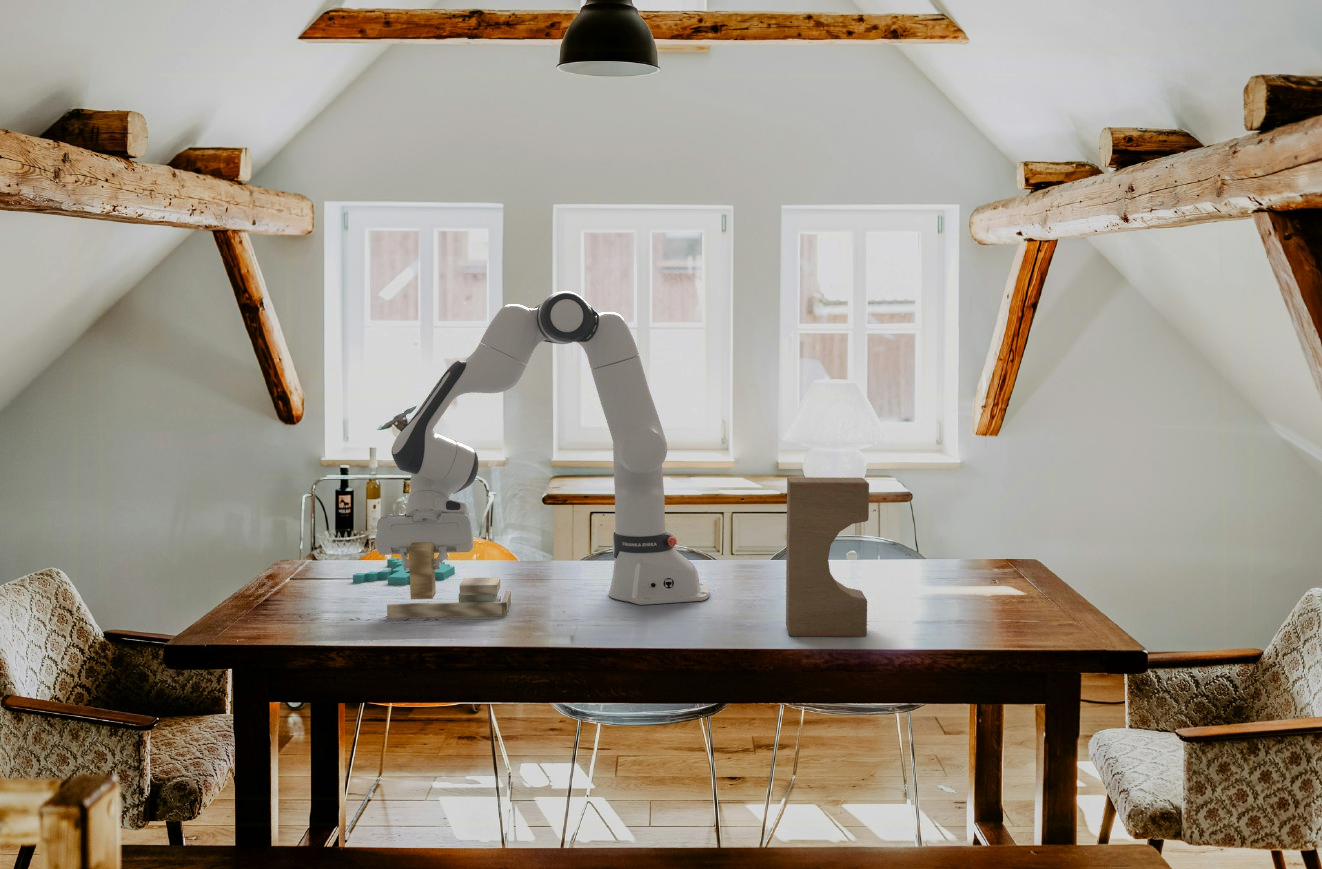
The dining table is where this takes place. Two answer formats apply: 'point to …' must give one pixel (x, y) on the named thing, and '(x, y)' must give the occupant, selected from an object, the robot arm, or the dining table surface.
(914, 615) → the dining table surface
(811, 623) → the decorative block
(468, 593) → the offcut stack
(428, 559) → the oak post
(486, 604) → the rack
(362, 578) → the alien figure
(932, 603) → the dining table surface
